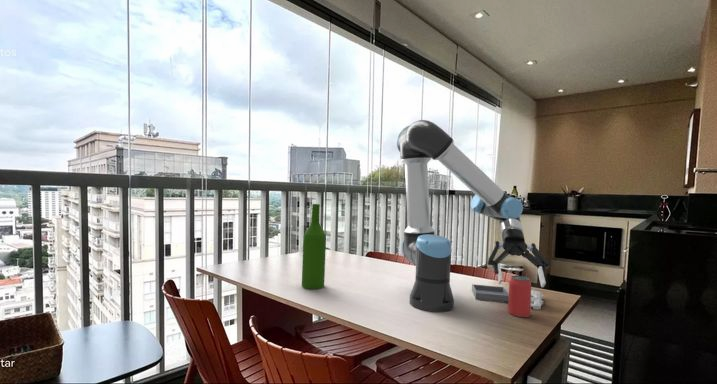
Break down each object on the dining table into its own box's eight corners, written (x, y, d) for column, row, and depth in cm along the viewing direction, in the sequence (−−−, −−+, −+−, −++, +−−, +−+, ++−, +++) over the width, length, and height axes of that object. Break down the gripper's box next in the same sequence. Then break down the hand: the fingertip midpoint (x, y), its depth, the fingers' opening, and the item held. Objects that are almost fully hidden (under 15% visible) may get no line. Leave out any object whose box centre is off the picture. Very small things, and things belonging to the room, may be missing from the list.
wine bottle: (315, 281, 142) (318, 203, 142) (328, 286, 135) (331, 204, 135) (297, 285, 136) (300, 203, 136) (310, 290, 129) (313, 204, 129)
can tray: (475, 299, 126) (476, 292, 126) (471, 290, 137) (472, 284, 137) (510, 302, 123) (510, 295, 123) (503, 293, 135) (503, 287, 135)
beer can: (534, 318, 108) (535, 280, 108) (513, 317, 108) (514, 279, 108) (524, 311, 115) (525, 275, 115) (504, 310, 115) (506, 274, 115)
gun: (516, 285, 135) (544, 290, 130) (515, 293, 135) (544, 299, 130) (510, 299, 120) (542, 305, 114) (509, 309, 120) (542, 315, 115)
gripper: (545, 241, 130) (558, 292, 116) (476, 237, 135) (481, 286, 121) (550, 229, 125) (565, 280, 111) (479, 225, 130) (484, 274, 115)
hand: (521, 283), depth 116 cm, fingers open, 13 cm apart
